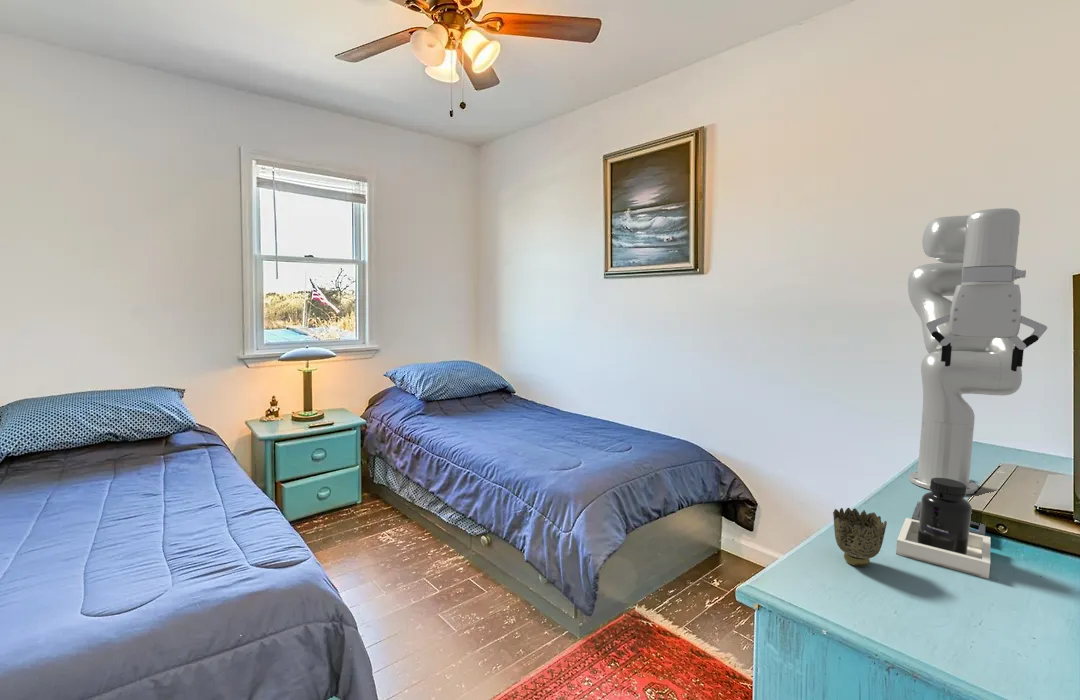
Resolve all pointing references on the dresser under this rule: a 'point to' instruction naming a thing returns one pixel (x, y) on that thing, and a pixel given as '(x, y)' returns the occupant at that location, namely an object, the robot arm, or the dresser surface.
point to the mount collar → (981, 527)
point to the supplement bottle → (945, 516)
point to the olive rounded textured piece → (858, 535)
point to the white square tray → (946, 551)
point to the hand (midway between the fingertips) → (979, 368)
